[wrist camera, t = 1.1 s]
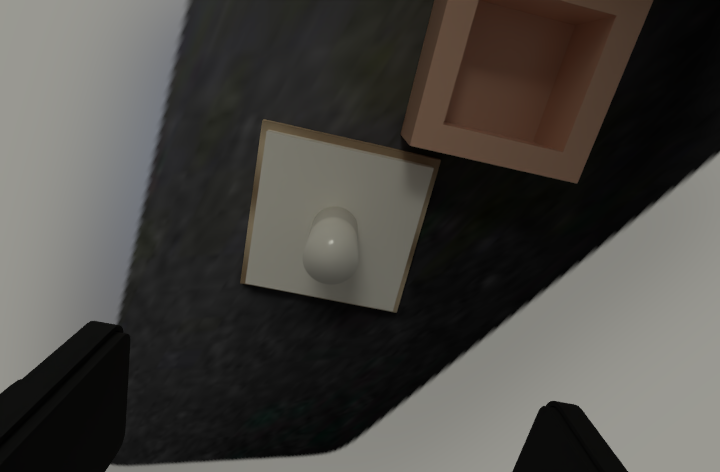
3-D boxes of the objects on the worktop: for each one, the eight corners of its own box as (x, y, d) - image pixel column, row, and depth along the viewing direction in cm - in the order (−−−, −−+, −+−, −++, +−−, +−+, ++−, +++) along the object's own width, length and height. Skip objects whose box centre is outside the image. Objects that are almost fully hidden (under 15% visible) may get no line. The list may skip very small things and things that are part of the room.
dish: (443, -37, 24) (464, -64, 20) (601, 6, 25) (657, -11, 20) (400, 134, 28) (409, 145, 23) (540, 166, 29) (577, 183, 24)
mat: (264, 119, 27) (262, 120, 27) (439, 158, 28) (440, 160, 28) (242, 279, 31) (240, 283, 31) (395, 308, 32) (396, 312, 32)
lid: (269, 129, 27) (246, 143, 21) (431, 165, 28) (451, 187, 22) (247, 278, 31) (223, 322, 25) (391, 305, 32) (399, 354, 26)
